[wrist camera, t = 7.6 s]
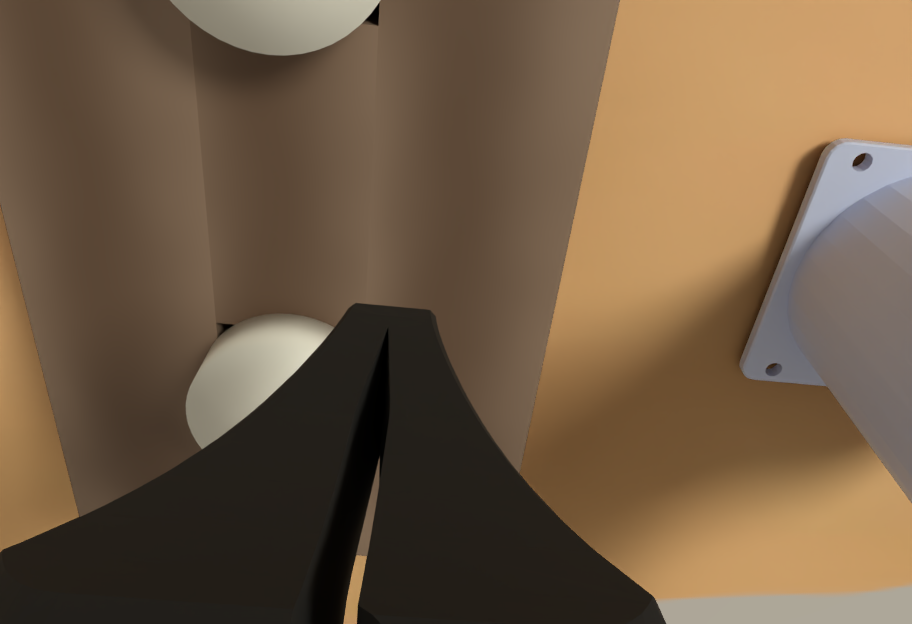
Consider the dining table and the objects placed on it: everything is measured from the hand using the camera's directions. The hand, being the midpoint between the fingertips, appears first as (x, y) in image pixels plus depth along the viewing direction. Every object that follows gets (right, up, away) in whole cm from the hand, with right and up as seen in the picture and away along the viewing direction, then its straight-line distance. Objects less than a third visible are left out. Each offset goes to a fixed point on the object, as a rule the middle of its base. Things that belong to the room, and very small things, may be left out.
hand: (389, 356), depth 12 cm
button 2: (-4, 0, +11) cm, 11 cm away
